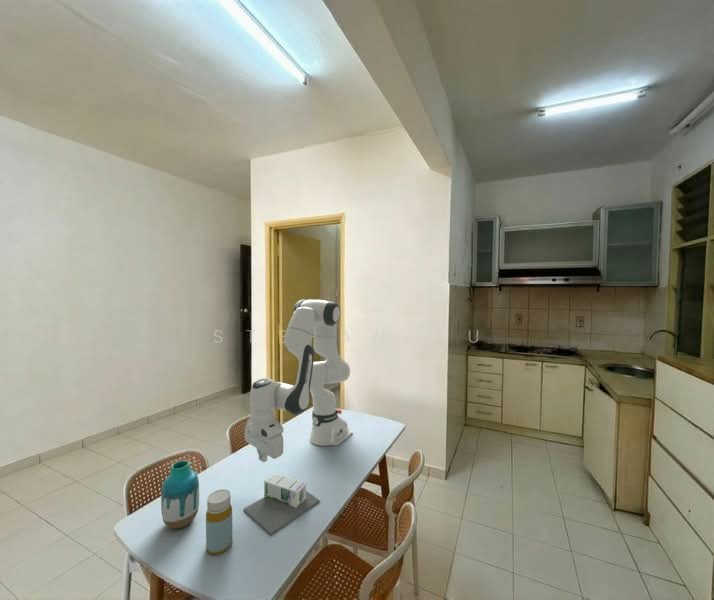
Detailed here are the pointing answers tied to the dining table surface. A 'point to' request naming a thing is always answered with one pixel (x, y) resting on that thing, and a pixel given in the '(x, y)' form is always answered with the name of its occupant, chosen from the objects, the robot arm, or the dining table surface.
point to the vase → (180, 495)
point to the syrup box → (285, 490)
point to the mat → (277, 512)
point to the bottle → (218, 522)
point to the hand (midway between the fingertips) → (263, 460)
